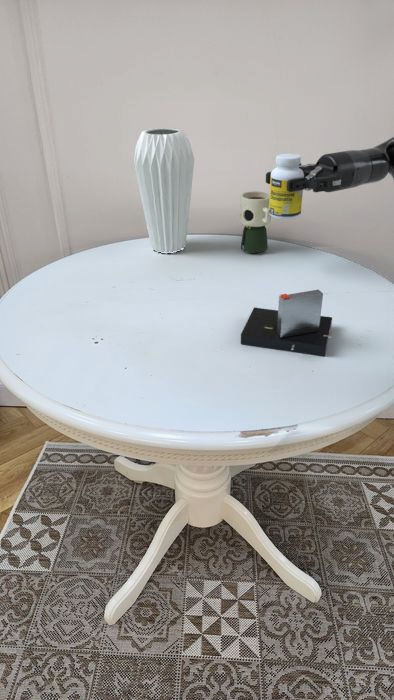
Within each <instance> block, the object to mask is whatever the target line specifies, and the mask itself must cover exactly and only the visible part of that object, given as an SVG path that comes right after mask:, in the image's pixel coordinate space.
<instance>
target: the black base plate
mask: <svg viewBox="0 0 394 700" xmlns="http://www.w3.org/2000/svg"><path fill="white" fill-rule="evenodd" d="M277 321H278V309H269V308H261V307H255V306H254V307H253V309H252V310H251V312H250V315H249V316H248V319H247V320H246V323H245V325H244V326H243V329H242V331H241V333H240V345H245V346H251V347H257V348H264V349H271V350H278V351H284V352H285V351H286V352H292V353H299V354H305V355H313V356H320V357H326V353H327V348H328V343H329V339H332V338H333V335H331V330H332V324H333V317H331V316H326V315H325V316H324V315H321V316H320V325H319V331H317V332H311V333H306V334H300V335H295V336H289V337H284V338H280V337H279V336H278V335H277Z"/></svg>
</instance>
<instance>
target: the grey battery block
mask: <svg viewBox="0 0 394 700" xmlns="http://www.w3.org/2000/svg"><path fill="white" fill-rule="evenodd" d="M323 298H324V293H323V292H322V291H321V290H320V289H314V290H307V291H300V292H295V293H289V294H287V293H283V294H280V295H279V296H278V308H277V310H278V321H277V335H278V336H279V337H280V338H284V337H289V336H295V335H300V334H306V333H311V332H317V331H319V325H320V316H322V308H323V307H322V306H323Z"/></svg>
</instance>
